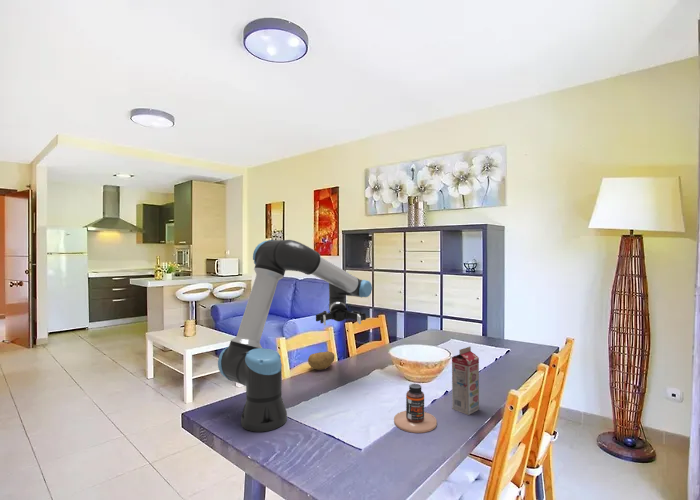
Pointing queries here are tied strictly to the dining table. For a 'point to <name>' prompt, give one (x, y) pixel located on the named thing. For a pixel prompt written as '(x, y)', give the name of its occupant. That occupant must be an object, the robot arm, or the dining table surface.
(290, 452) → the dining table surface
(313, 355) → the potato
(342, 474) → the dining table surface
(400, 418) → the saucer
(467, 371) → the juice carton
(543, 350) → the dining table surface
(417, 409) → the supplement bottle
